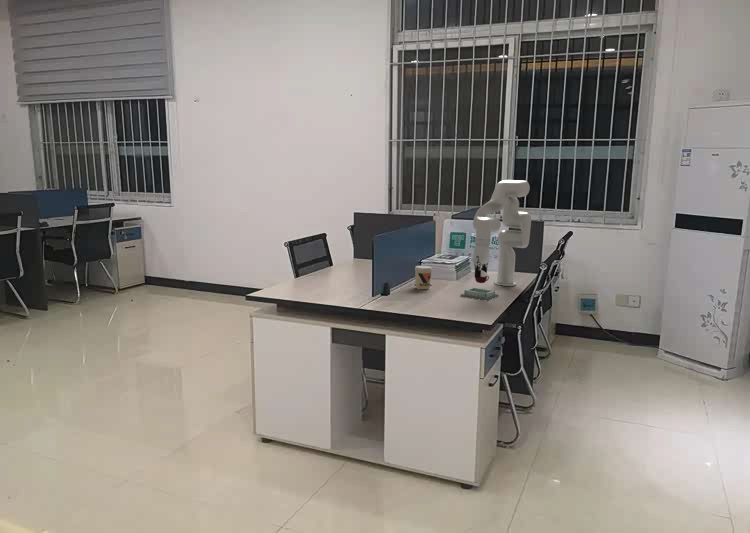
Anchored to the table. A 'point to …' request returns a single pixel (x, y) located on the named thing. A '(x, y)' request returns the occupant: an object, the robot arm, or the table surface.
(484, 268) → the robot arm
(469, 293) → the holder board
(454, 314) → the table surface
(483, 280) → the cocoa
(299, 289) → the table surface
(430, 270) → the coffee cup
